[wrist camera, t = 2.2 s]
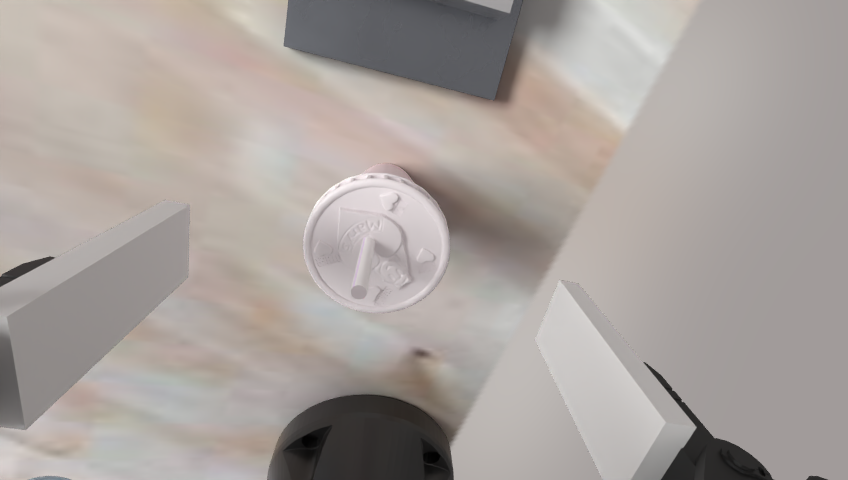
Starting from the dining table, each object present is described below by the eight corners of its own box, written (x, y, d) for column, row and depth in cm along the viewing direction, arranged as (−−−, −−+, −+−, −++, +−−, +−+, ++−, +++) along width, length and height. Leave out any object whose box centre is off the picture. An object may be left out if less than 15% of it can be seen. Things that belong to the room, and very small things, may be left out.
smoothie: (394, 119, 25) (386, 168, 12) (454, 201, 27) (503, 318, 14) (314, 182, 26) (225, 288, 13) (377, 255, 28) (357, 410, 15)
